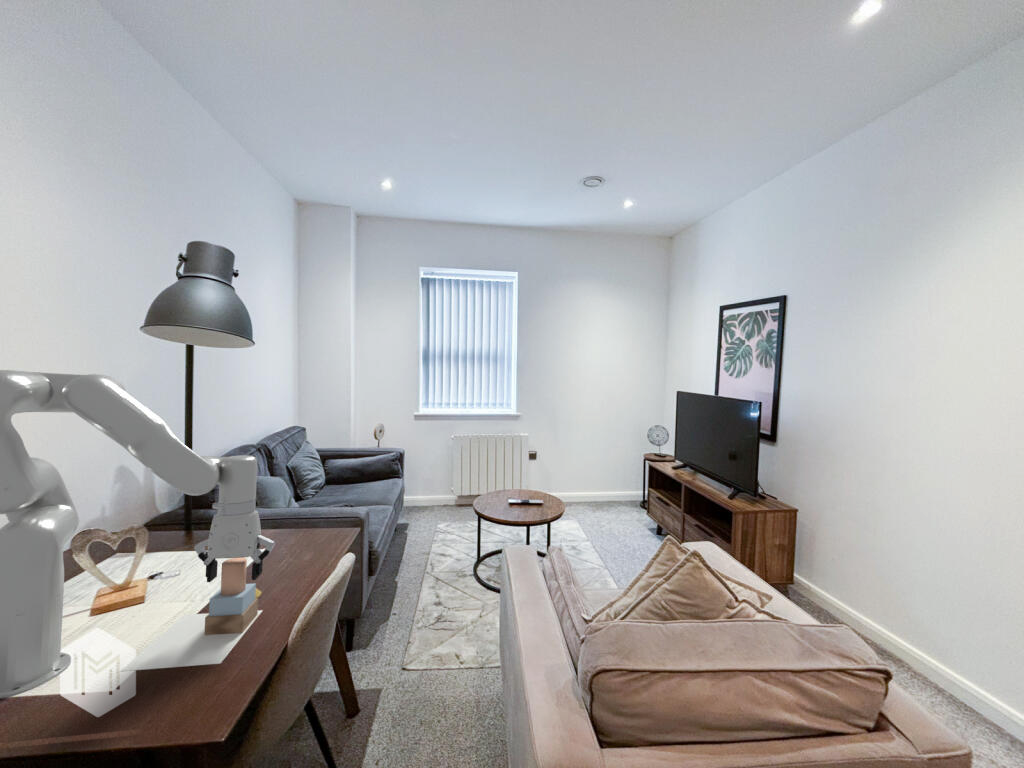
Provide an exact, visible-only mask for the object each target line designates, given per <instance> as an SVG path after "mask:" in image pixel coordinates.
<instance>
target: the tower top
mask: <svg viewBox="0 0 1024 768" xmlns="http://www.w3.org/2000/svg"><path fill="white" fill-rule="evenodd" d="M256 584H257V583H246V589H245V591H243V592H242V593H239V594H237V595H233V596H222V595H221V588H220V589H219V590H218V591H217V592H215V594H213V595H211V597H210V598H209V602H208V603H209V605H208V607H209V608H208V613H209V616H224V615H241V614H243V613H244V612H245V611H246V609H247V608H248V607H249V606H250V605H251V604H252V603H253V601H254V600H255V599H256V598H255V592H256V588H257V585H256Z"/></svg>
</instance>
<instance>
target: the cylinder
mask: <svg viewBox="0 0 1024 768" xmlns="http://www.w3.org/2000/svg"><path fill="white" fill-rule="evenodd" d="M247 561H248V560H247V557H244V558H228V559H226V560H224V561H223V562H222V563H221V575H220V576H221V578H220V589H221V595H222V596H233V595H237V594H239V593H242V592H243V591H245V589H246V584H247V565H248V564H247V563H248V562H247Z"/></svg>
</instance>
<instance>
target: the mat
mask: <svg viewBox="0 0 1024 768" xmlns="http://www.w3.org/2000/svg"><path fill="white" fill-rule="evenodd" d="M263 611H264V610H263V609H261V610H259V609H258V613H257V616H256V617H255V618H254V619H253V621H252V622H251V623H250V624H249V626H248V627H247V628H246V629H245V630H244V632H243V633H232V634H217V635H204V632H205V617H206V616H207V615H208V614H209V612H207V613H194V614H192V613H190V614H183V615H182V616H181V617H180V618H179V619H178V620H176V622H174V623H173V624H172V625H171V626H170V627H169V628H167V629H166V630H164V632H163V633H162V634H160V636H158V637H157V638H156V639H155V640H154V641H153V642H151V644H150V645H148V646H147V647H146V648H145V649H143V651H141V652H140V653H139V654H138V655H137V656H135V657H134V658H133V660H131V661H130V662H129V663H128V664H126V666H124V667H123V668H122V669H121V670H120V672H131V671H142V670H157V669H168V668H179V667H180V668H181V667H191V666H192V667H194V666H206V665H218V664H219V665H220V664H222V663H223V661H224V660H225V659H226V658H227V656H228V655H229V653H230V652H232V649H234V647H235V646H236V645H237V644H238V642H239V641H241V638H243V636H244V635H245V633H246V632H247V631H248V630H249V628H250V627H251V626H252V625H253V624H254V622H255V621H256V620H257V619H258V617H259V616H260V615H261V613H262V612H263Z"/></svg>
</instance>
